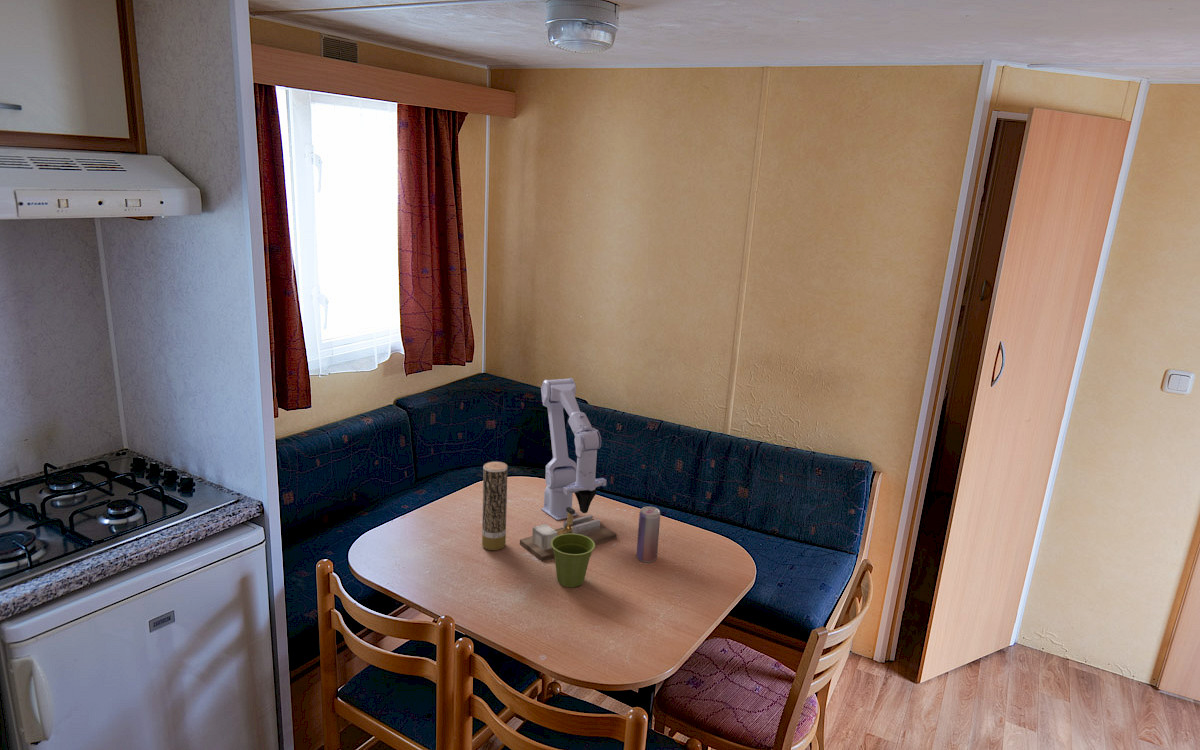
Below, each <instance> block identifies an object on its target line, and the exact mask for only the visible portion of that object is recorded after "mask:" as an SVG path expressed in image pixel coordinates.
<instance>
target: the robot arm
mask: <svg viewBox="0 0 1200 750" xmlns="http://www.w3.org/2000/svg"><path fill="white" fill-rule="evenodd" d="M540 392H541V402H542V406H544V407H546V408H547V414H548V415H547V416H548V424H549V431H550V432H549V433H550V440H551V450H552V451H551V453H552V458H551V460H550V461H549V462H547V464H546V465H545V475H544V476H545V479H544V480H545V485H546V487H545V489H544V495H543V497H544V500H543V507H541V510H542V511H543V512H545V514H547V515H549V516H550V517H551V518H553V519H554V520H556V521H561V520H564V519H567V513H568V512H567V511H566V508H567V507H570V508H572V509H573V496H574V495H575V497H576V499H577V504H578V506H579V511H580V512H581V513H582V514H588V513H589V512H588V511H589V509H590V506H591V504H592V501H593V499H594V498H595V496H596V495H597V490H596V488H598V487H601V486H602V487H606V486H607V479H606V478H604V477H600V478H599V477H598V478H596V470H597V459H598V457H597V454H598V450H600V449H601V446H602V437H601V434H600V431H599V430H598V429H596V427H592V424H591V422H590V421H589V418H588V416H587V415H586V413H585V412H583V411H581V410H580V406H579V404H578V401H577V399H576V392H577V386H576V382H575V380H574V379H573V378H571V377H568V378H559V379H544V380H543V382H542V384H541V386H540ZM564 410H565V411H566V414H567V415H568V416H569V417H568V419H567V421H568V425H569V427H570V428H571V432H572V433H573V436H574V446H575V455H576V462H575V460H573V459H572V458H570V457H569V453H568V452H569V450H568V449H569V448H568V442H567V433H566V424H565V415H564ZM573 494H574V495H573ZM577 515H578V513H577V512H576V511H575V514H573V517H575V516H577Z"/></svg>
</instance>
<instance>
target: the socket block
mask: <svg viewBox="0 0 1200 750" xmlns="http://www.w3.org/2000/svg"><path fill="white" fill-rule="evenodd" d="M555 530H556V529H553V528H552V527H551V526H549V525H548V524H547V523H544V524H540V525H536V526H533V527H532V534H531V536H532V542H534V543H535V544H536V545H538V546H539V547H540V548H542V549H543V550H547V549H551V548H552V546H551V541H552V539H553V538H554V537H556V536H558V532H556V531H555Z"/></svg>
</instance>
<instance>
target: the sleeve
mask: <svg viewBox="0 0 1200 750" xmlns="http://www.w3.org/2000/svg"><path fill="white" fill-rule="evenodd" d="M592 519H594V520H592ZM600 523H601V520H600V519H598V518H596V519H595V518H594V515H592V514H587V515H584V516H579V517H576V518H573V526H571V533H574V534H581V535H584V536H589V535H592V534H596V533H599V529H600ZM563 527H564V528H567V520H566V521H563Z"/></svg>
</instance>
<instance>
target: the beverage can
mask: <svg viewBox="0 0 1200 750" xmlns="http://www.w3.org/2000/svg"><path fill="white" fill-rule="evenodd" d="M660 523H661V510H660V509H659V508H657V507H654V506H651V505H650V506H643V507H642V508H640V511H639V515H638V527H637V528H638V530H637V543H636V555H635V556H636V558H637V559H638V561H641V562H642V563H653V562H654V561H656V559H657V558H658V551H659V538H660V537H659V535H660Z"/></svg>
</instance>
